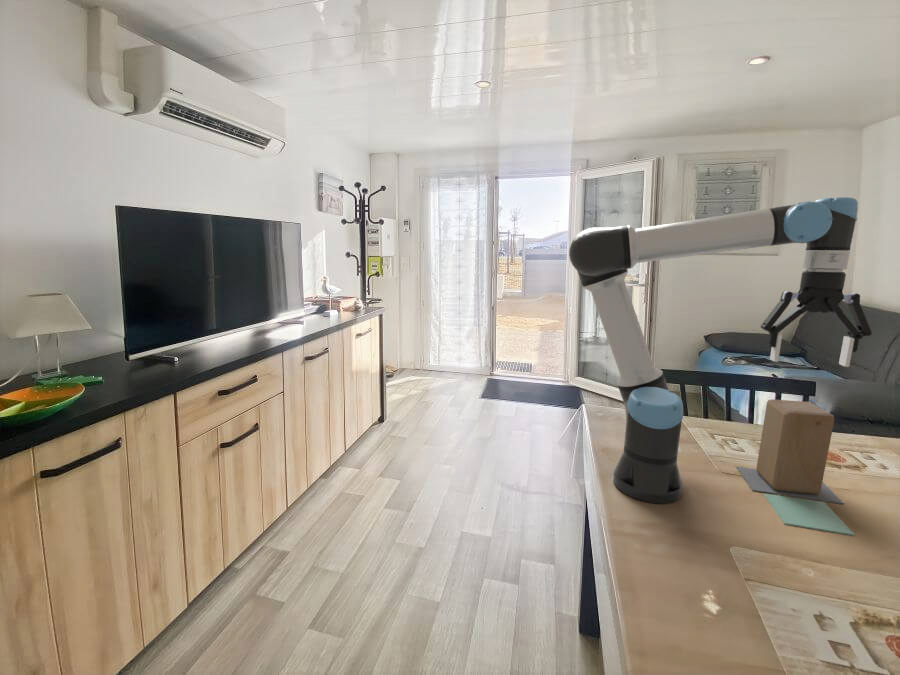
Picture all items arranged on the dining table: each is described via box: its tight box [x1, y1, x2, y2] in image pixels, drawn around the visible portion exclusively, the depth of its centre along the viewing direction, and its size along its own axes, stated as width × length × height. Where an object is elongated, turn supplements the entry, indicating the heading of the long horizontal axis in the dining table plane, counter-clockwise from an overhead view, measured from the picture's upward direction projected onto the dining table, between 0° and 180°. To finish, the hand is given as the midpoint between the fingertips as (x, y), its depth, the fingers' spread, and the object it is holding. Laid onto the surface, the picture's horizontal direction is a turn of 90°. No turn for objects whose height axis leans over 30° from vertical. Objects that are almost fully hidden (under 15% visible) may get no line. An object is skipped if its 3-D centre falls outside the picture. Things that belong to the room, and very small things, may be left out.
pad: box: [762, 492, 855, 536], centre depth 96 cm, size 12×12×1 cm
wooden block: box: [755, 398, 835, 494], centre depth 106 cm, size 10×10×20 cm
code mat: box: [736, 466, 845, 505], centre depth 108 cm, size 18×12×1 cm, turn 72°
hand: (808, 363), depth 102 cm, fingers open, 13 cm apart
